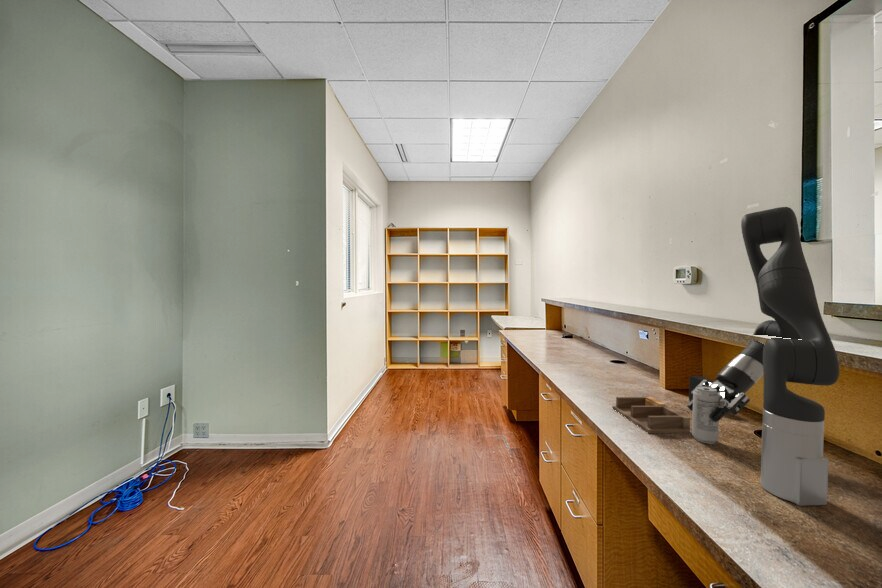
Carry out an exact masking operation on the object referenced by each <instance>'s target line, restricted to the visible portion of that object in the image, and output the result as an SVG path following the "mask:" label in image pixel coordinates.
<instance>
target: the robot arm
mask: <svg viewBox="0 0 882 588" xmlns="http://www.w3.org/2000/svg"><path fill="white" fill-rule="evenodd" d="M740 227H741V234H742V239H743V243H744V246H745V251H746V253H747V258H748V261H749V264H750V268H751V271H752V274H753V276H754V279H755V280H754V281H755V284H756V288H757V294H758V295H757V296H758V303H759V308H760V311H761V313H762V314H764V315H765V316H767V317H770V318H772V319H774V320H772V319H769V320H765V321H762V322H761V323H760V324H758V325H757V326H756V328H755V330H754V332H753V334H752V336H753V335H768V336H776V337H782V338H771V339H769V340H767V341H766V343H765V345H764V344H762V343H760V342H758V341H755V340H753V339H752V340H751V339H750V340H749V343H748V344H747V346H746V347H745V348H743V350H742V351H741V352H739V354H738V355H737V356H735V357H734V358H733V359H731V361H729V362H728V363H727V364H726V365H725V366H724V367H723V368H722V369H721V370H720V372H718V373H717V374H716V376H715V378H716V380H714V381H715V382H713V383H709V382H708V381H707V380H703V381H702V382H701V383H700V384H699V385H698V386H706V387H711V388H714V389H717V393H718V395H719V396H720V397H719V407H717V408H716V409H715V410H714V411H713V412H712V413H711V414H710V415H709V418H710V419H711V420H712V421H714V422H717V421H719V422H720V420H721V419H723V418H724V416H725V415H728V414H732V415H737V414H738V413H739V412H741V411H742V409H743V408H744V407H745V406H746V405H748V403H750V401H751V399H750V398H749V396H747V395H746V393H747V392H748V391H750V389H751V388H752V387H753V386H754V385H755V384H756V383H757V382H758V381H759V380H760V379H761V378H762V377H763V392H762V394H763V401H762V402H763V403H762V404H763V405H762V406H763V407H762V425H761V427H762V428H761V429H762V431H761V454H760V456H761V457H760V459H761V460H760V486H761V487H762V488H763V489H764V490H765V491H767V492H768V493H770V494H771V495H774V496H775V497H778V498H780V499H782V500H785V501H789V502H791V503H793V504H795V505H797V506H799V507H800V506H802V507H805V506H827V504H828V487H829V485H828V484H829V483H828V482H829V462H830V460H829V459H828V458H826V457H824V439H825V438H824V433H825V420H826V419H825V417H826V416H825V415H826V411H825V407H824V406H823V405H822V404H820V403H819V402H817V401H815V400H813V399H810V398H806V397H804V396H801V395H799V394H797V393H795V392H793V391H791V390H790V389H789V388H788V387H787V383H795V384H803V385H813V386H832V385H834V384H836V383H837V381H838V379H839V376H840V363H839V357H838V354H837V352H836V349H835V345H834V344H833V340H832V339H831V337H830V334H829V331H828V329H827V327H826V324H825V322H824V320H823V317H822V314H821V311H820V307H819V303H818V299H817V295H816V291H815V287H814V282H813V279H812V276H811V275H812V274H811V272H810V270H809V267H808V263H807V262H806V258H805V254H804V252H803V247H802V242H801V236H800V235H801V234H800V229H799V224H798V219H797V216H796V213H795V211H794V210H793V209H792V208H791V207H790V206H780V207H774V208H770V209H764V210H759V211H755V212H750V213H746V214H744V215H743V216H742V218H741V225H740ZM780 242H781V243H780ZM773 243H780V245H779V247H778V248H777V250H776V251H775V253H773V255H772V256H770V258H769V259H767V257H765V256H764V254H763V251H762V249H761V245H767V244H773ZM783 338H791V339H783ZM798 339H802V340H798ZM695 389H696V388H695ZM695 389H694V390H693V391H692V392H691V393H692V394H693V392H694V391H695ZM687 408H688V409H689V410H690V411H692V412H693V400H692V401H691V402H690V401H689V402H688V403H687Z"/></svg>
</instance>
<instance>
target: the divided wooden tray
mask: <svg viewBox="0 0 882 588" xmlns="http://www.w3.org/2000/svg"><path fill="white" fill-rule="evenodd" d="M615 399H616V401H615V405H612V408H613V409H614V410H613V409H612V408H611V409H612V410H613V411H615V410H616V411H617V412H616V411H615V412H616V413H618V412H619V413H620V414H619V413H618V414H619V415H621V414H622V415H623V416H622V415H621V416H622V417H624V416H625V417H626V418H625V417H624V418H625V419H627V420H628V419H629V420H628V421H630V422H631V421H632V422H631V423H633V424H634V423H635V424H634V425H636V426H637V425H638V426H637V427H639V428H640V427H641V428H642V429H641V428H640V429H641V430H643V431H644V430H645V431H644V432H646V433H647V432H648V434H665V433H666V434H670V433H671V434H672V433H673V434H674V433H675V434H676V433H683V434H684V433H690V432H691V417H690V416H687V415H686V414H684V413H682V412H680V411H678V410H676V409H673V408H672V407H670V406H668V405H666V403H664V402H661V401H660V400H657V399H655V397H651V396H648V395H643V396H616V398H615Z"/></svg>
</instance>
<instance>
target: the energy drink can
mask: <svg viewBox="0 0 882 588" xmlns="http://www.w3.org/2000/svg"><path fill="white" fill-rule="evenodd" d="M719 397H720V396H719V395H718V393H717V389H714V388H711V387H706V386H696V389H695V391H694V392H693V411H692V416H691V417H692V419H691V420H692V421H691V425H692V426H691V429H692V430H691V435H692V437H694V439H695V440H696V441H698V442H700V443H703V444H708V445H714V444H716V442H718V441H719V427H720V425H719V423H720V420H719V421H717V422H714V421H712V420H711V419H710V418H709V415H710V414H711V413H712V412H713V411H714V410H715V409H716V408H717V407H719V408H720V401H719Z"/></svg>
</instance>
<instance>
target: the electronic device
mask: <svg viewBox="0 0 882 588" xmlns="http://www.w3.org/2000/svg"><path fill="white" fill-rule="evenodd" d="M703 380H707V381H708V382H709V383H713V382H715V381H716V380H712V379H710V378H707V377H705V376H703V375H702V376H701V375H700V376H699V375H698V376H697V375H696V376H695V375H690V376H689V381H688V382H689V387H688V392H689V393H688V396H689V397H688V401H689V403H690V402H691V401H692V400H693V394H692V393H691V392H692V391H693V390H694V389H695V388H696V386H698V385H699V384H700V383H701V382H702V381H703Z"/></svg>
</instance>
